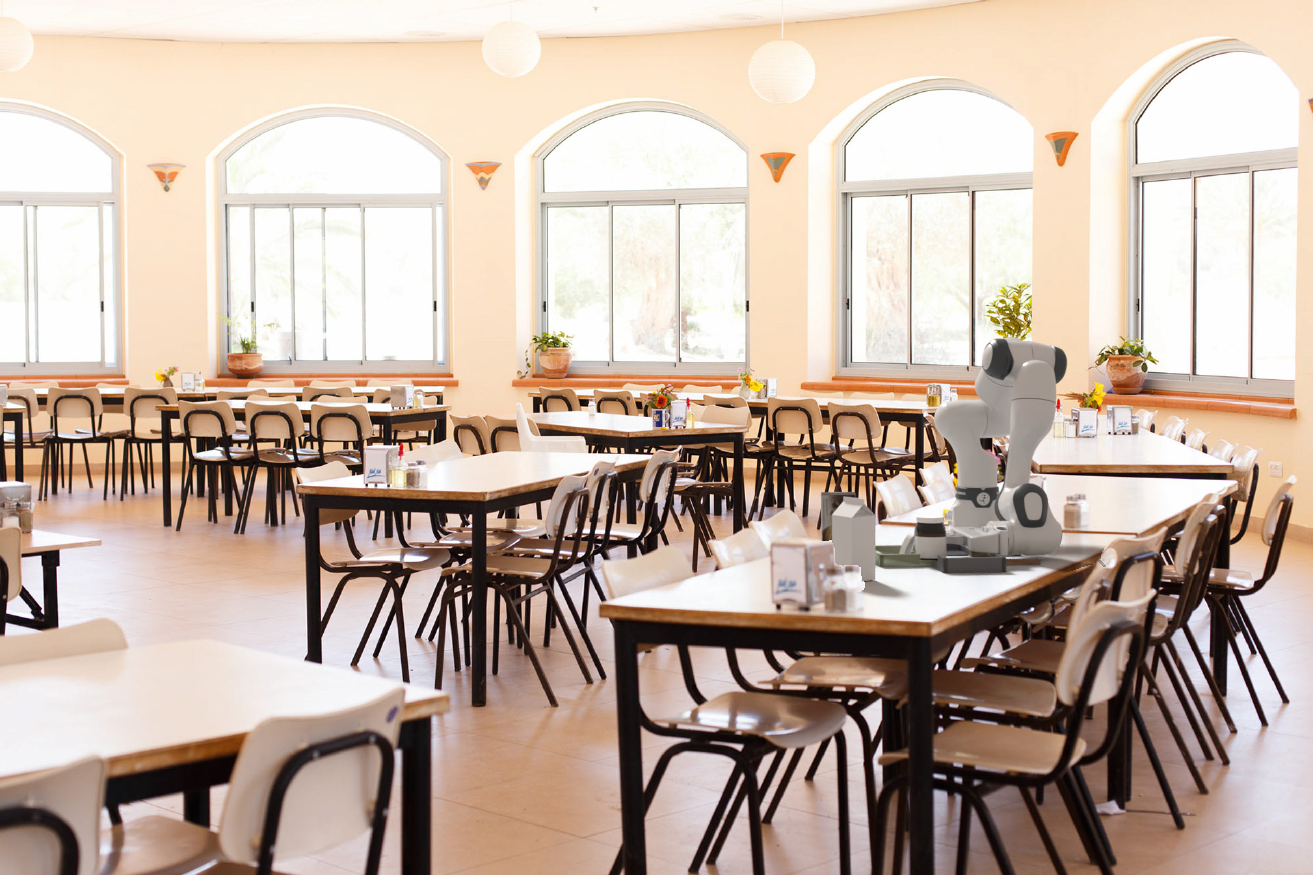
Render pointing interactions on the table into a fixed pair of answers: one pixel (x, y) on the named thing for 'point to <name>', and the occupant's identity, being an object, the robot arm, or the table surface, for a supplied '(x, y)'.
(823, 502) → the coffee box
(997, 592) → the table surface
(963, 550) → the grey open tray
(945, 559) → the dark grey shallow tray
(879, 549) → the lane
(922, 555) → the spread jar
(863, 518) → the milk carton
